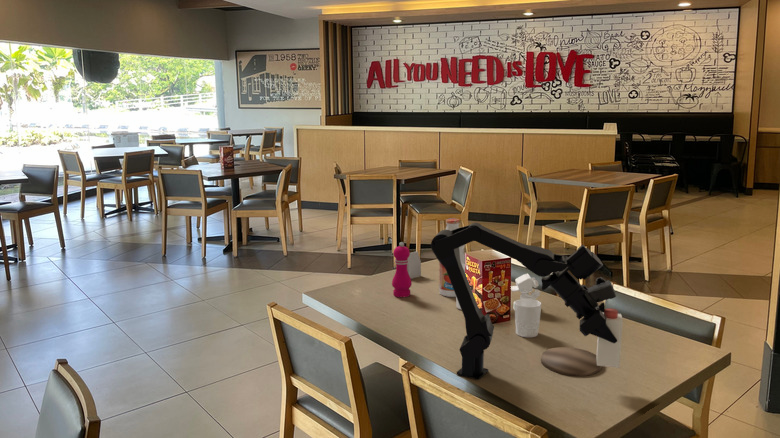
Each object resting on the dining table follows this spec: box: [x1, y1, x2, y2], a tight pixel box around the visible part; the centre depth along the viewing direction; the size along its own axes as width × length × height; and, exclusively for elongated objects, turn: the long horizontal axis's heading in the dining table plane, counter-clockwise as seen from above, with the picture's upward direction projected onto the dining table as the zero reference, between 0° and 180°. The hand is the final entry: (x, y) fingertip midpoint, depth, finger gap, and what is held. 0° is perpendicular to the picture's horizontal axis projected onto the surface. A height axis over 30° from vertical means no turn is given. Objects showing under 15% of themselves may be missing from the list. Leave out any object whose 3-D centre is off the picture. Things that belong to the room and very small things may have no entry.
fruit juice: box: [438, 217, 466, 298], centre depth 228 cm, size 9×9×28 cm
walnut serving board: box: [540, 346, 603, 377], centre depth 170 cm, size 16×16×1 cm
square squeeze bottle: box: [595, 308, 624, 369], centre depth 153 cm, size 5×5×14 cm
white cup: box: [514, 299, 542, 338], centre depth 191 cm, size 8×8×10 cm
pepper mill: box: [391, 241, 412, 298], centre depth 228 cm, size 7×7×20 cm
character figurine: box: [510, 273, 541, 311], centre depth 212 cm, size 9×10×12 cm
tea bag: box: [407, 250, 422, 280], centre depth 252 cm, size 4×7×10 cm, turn 134°
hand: (615, 337), depth 153 cm, fingers closed on square squeeze bottle, 5 cm apart
